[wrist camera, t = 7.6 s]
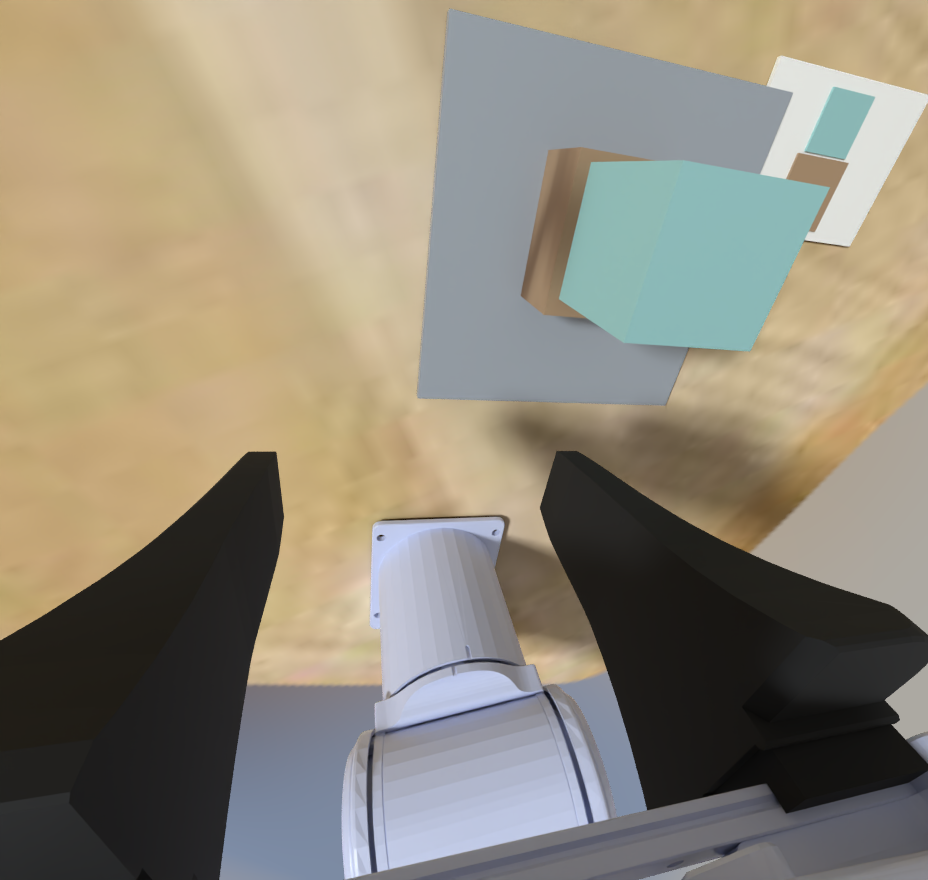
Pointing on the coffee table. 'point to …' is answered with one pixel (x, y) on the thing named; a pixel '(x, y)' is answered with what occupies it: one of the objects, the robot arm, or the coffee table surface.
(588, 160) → the walnut brick
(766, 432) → the coffee table surface
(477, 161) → the build plate
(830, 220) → the tile
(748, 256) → the teal brick
